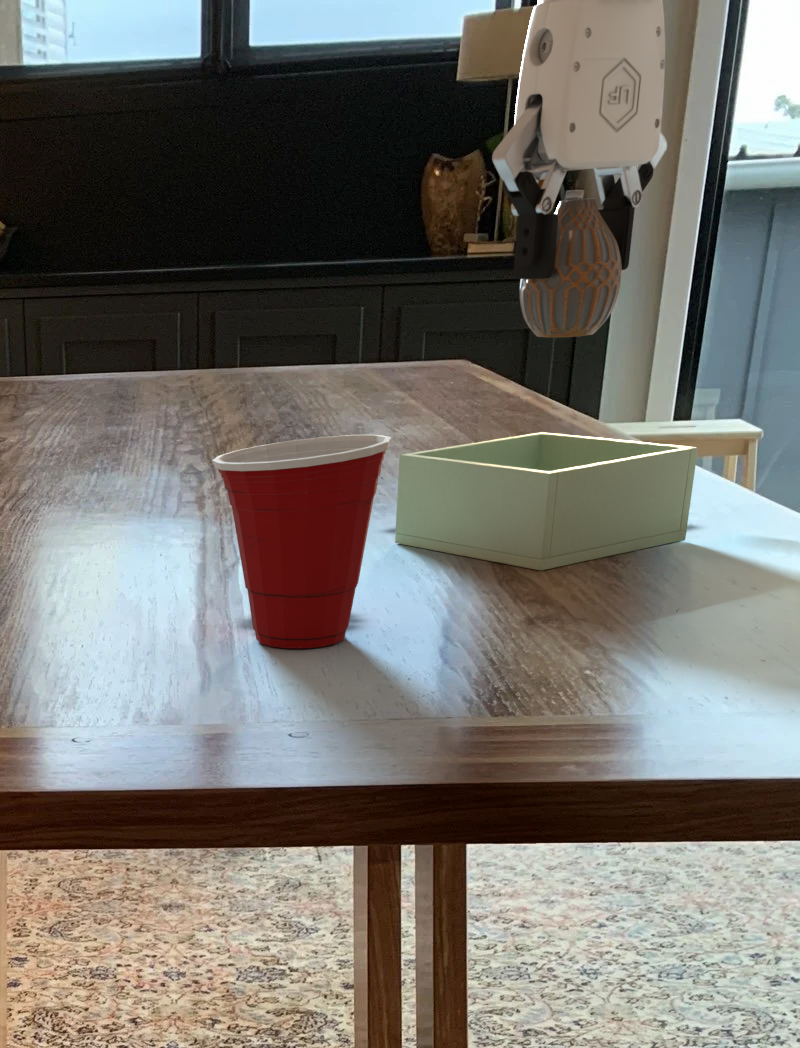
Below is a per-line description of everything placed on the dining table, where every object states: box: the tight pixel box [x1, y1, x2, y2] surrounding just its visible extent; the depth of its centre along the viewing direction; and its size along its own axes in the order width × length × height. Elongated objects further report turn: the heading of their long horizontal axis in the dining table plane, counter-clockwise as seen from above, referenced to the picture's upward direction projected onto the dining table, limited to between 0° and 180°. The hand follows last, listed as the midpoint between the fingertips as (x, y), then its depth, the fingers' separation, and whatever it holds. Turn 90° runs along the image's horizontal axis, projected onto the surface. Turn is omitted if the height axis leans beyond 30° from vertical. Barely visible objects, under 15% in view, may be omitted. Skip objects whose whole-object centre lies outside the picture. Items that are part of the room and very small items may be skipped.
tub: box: [394, 431, 699, 572], centre depth 119 cm, size 16×16×7 cm
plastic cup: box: [211, 434, 392, 650], centre depth 96 cm, size 11×11×12 cm
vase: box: [519, 197, 623, 339], centre depth 109 cm, size 7×7×9 cm
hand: (571, 272), depth 109 cm, fingers closed on vase, 6 cm apart
